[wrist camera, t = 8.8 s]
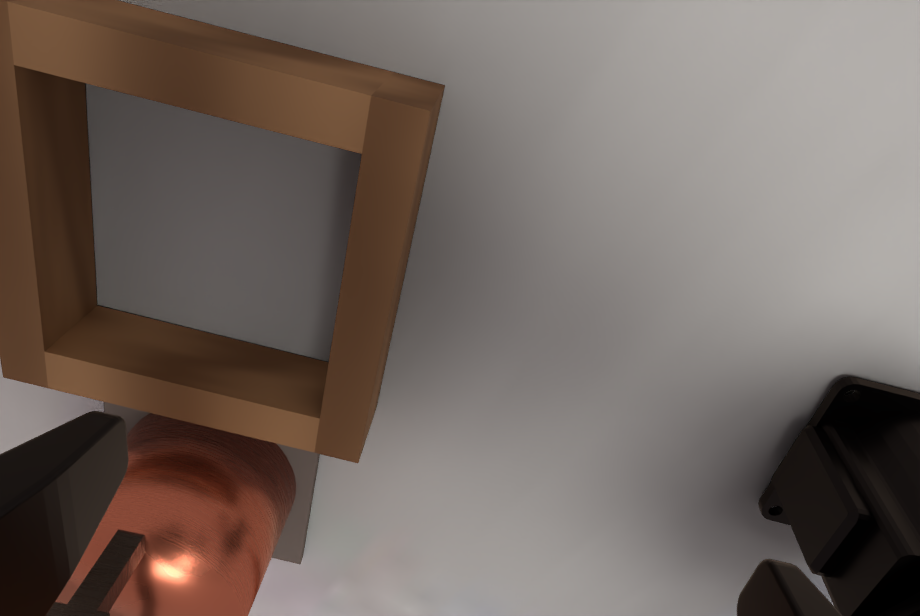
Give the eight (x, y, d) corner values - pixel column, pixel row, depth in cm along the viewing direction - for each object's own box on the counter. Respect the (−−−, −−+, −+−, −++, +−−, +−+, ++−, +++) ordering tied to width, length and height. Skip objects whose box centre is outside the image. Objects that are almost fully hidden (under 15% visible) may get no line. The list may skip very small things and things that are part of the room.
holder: (444, 85, 19) (431, 111, 17) (376, 407, 25) (358, 463, 23) (27, -24, 19) (-55, -15, 16) (58, 329, 25) (3, 377, 22)
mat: (326, 412, 26) (324, 419, 25) (302, 556, 30) (300, 564, 29) (107, 358, 25) (101, 364, 25) (115, 512, 30) (110, 519, 29)
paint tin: (303, 427, 26) (185, 690, 17) (289, 551, 29) (185, 825, 20) (120, 387, 25) (-99, 632, 16) (127, 517, 29) (-50, 778, 20)
